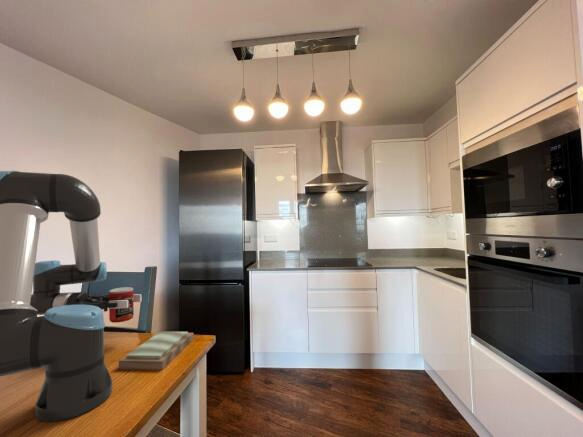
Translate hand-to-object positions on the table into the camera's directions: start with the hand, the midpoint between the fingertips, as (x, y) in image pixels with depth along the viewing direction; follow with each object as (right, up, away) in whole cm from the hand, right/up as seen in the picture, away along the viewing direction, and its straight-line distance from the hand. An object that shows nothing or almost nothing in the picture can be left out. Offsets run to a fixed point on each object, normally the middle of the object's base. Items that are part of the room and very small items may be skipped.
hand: (134, 300), depth 101 cm
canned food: (-5, -7, 0) cm, 8 cm away
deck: (+13, -16, -7) cm, 21 cm away
